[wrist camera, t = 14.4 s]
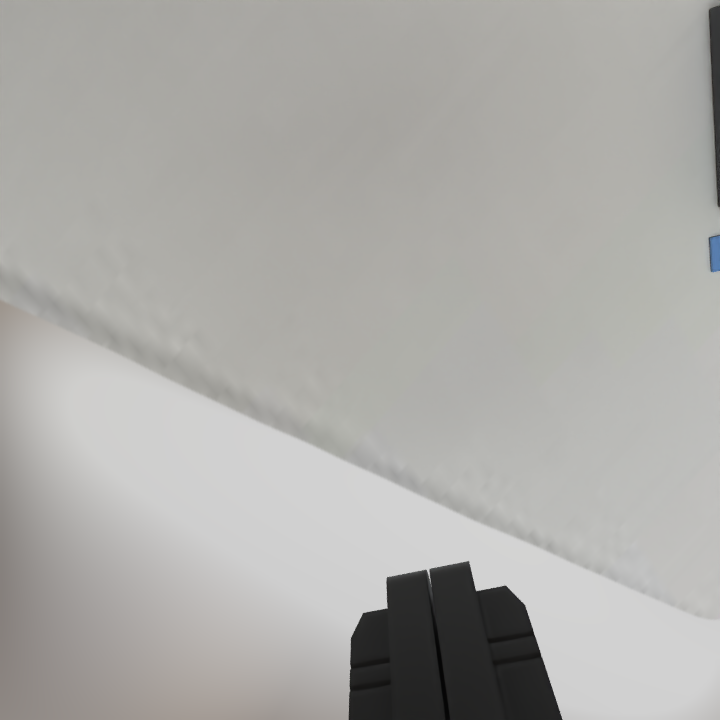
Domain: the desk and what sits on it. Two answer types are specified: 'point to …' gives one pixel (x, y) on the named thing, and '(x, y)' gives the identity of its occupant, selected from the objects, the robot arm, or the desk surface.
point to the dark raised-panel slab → (716, 81)
